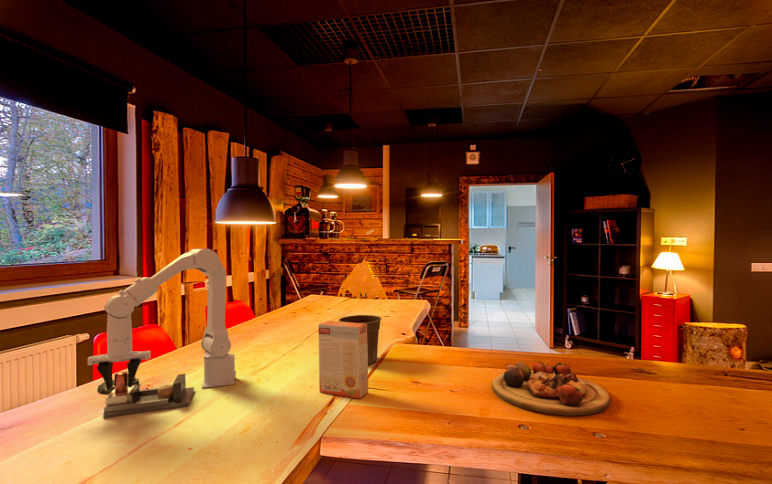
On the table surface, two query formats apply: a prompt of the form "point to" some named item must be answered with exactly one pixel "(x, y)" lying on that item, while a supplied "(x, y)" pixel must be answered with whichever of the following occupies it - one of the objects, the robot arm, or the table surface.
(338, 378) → the cracker box
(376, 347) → the plant pot
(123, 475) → the table surface
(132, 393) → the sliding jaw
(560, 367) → the wooden plate with food
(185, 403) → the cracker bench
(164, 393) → the tan rounded lump
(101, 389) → the log
